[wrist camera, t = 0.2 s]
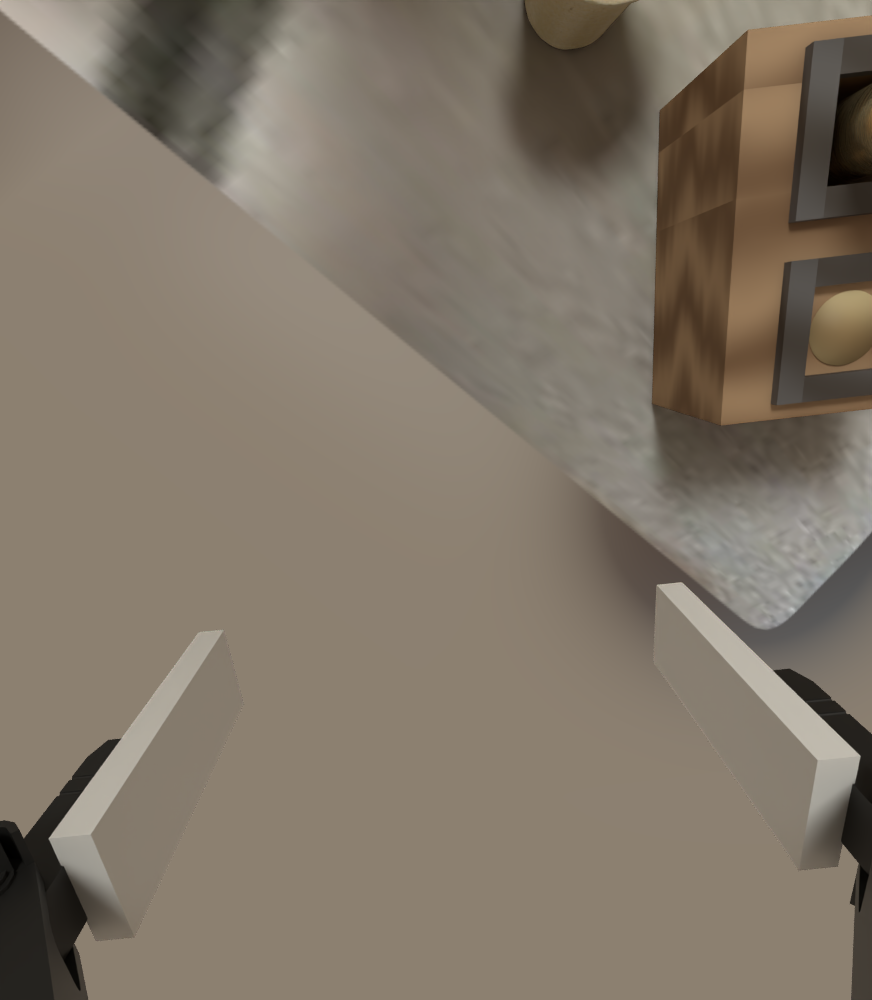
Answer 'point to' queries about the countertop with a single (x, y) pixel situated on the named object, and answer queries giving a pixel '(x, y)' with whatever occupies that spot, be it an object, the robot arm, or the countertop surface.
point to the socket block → (764, 233)
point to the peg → (852, 139)
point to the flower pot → (573, 20)
